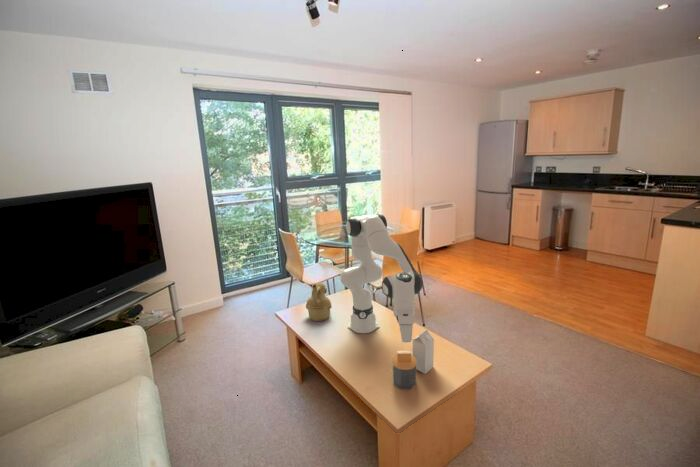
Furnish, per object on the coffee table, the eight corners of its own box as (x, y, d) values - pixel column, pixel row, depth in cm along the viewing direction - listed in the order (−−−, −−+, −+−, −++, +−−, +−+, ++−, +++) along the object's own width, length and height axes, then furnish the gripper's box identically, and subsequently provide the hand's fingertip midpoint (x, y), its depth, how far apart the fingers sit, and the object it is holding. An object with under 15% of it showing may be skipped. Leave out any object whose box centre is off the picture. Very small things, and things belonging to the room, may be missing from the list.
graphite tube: (392, 374, 148) (392, 355, 145) (413, 374, 147) (413, 355, 145) (394, 389, 138) (394, 369, 136) (416, 389, 137) (416, 369, 135)
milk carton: (412, 367, 152) (412, 332, 147) (420, 361, 157) (421, 326, 152) (425, 374, 147) (425, 337, 142) (433, 367, 152) (434, 331, 147)
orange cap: (390, 358, 146) (390, 345, 145) (414, 358, 146) (414, 344, 144) (392, 374, 136) (392, 359, 134) (418, 374, 135) (418, 359, 134)
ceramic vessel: (334, 310, 214) (332, 275, 208) (328, 325, 195) (326, 287, 190) (310, 309, 217) (308, 275, 211) (302, 324, 198) (299, 286, 192)
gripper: (394, 300, 145) (394, 327, 148) (398, 322, 125) (399, 353, 128) (408, 300, 145) (408, 327, 148) (414, 322, 125) (414, 353, 128)
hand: (404, 340), depth 138 cm, fingers closed
